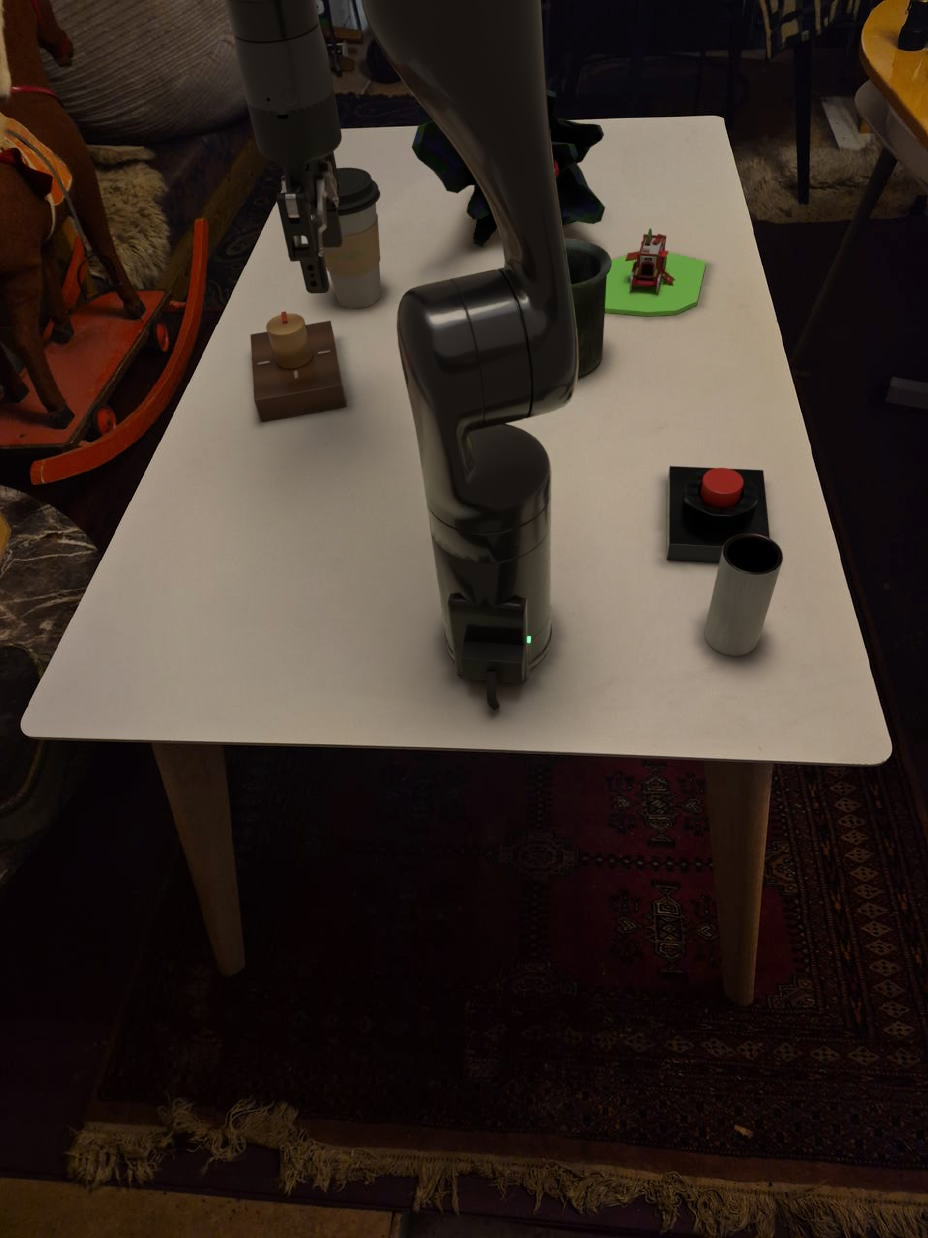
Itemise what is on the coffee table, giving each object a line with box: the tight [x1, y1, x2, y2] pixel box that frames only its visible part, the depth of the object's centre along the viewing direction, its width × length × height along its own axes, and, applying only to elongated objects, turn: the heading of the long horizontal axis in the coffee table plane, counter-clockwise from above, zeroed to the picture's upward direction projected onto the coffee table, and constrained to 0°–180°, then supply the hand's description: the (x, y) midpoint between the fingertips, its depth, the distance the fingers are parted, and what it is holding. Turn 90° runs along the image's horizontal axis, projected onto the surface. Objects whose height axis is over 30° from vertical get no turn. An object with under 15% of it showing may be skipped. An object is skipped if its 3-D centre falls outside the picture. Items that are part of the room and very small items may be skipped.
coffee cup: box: [311, 167, 382, 309], centre depth 109 cm, size 9×9×15 cm
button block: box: [666, 465, 771, 564], centre depth 81 cm, size 11×9×4 cm
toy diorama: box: [605, 227, 707, 317], centre depth 109 cm, size 15×15×6 cm
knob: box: [265, 310, 313, 369], centre depth 99 cm, size 4×4×5 cm
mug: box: [564, 237, 612, 378], centre depth 98 cm, size 11×15×12 cm
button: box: [701, 467, 743, 507], centre depth 79 cm, size 4×4×2 cm
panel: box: [249, 320, 348, 423], centre depth 102 cm, size 14×10×3 cm
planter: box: [704, 533, 784, 657], centre depth 70 cm, size 4×4×10 cm
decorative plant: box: [411, 88, 606, 248], centre depth 115 cm, size 21×26×30 cm
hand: (326, 267), depth 85 cm, fingers open, 8 cm apart
